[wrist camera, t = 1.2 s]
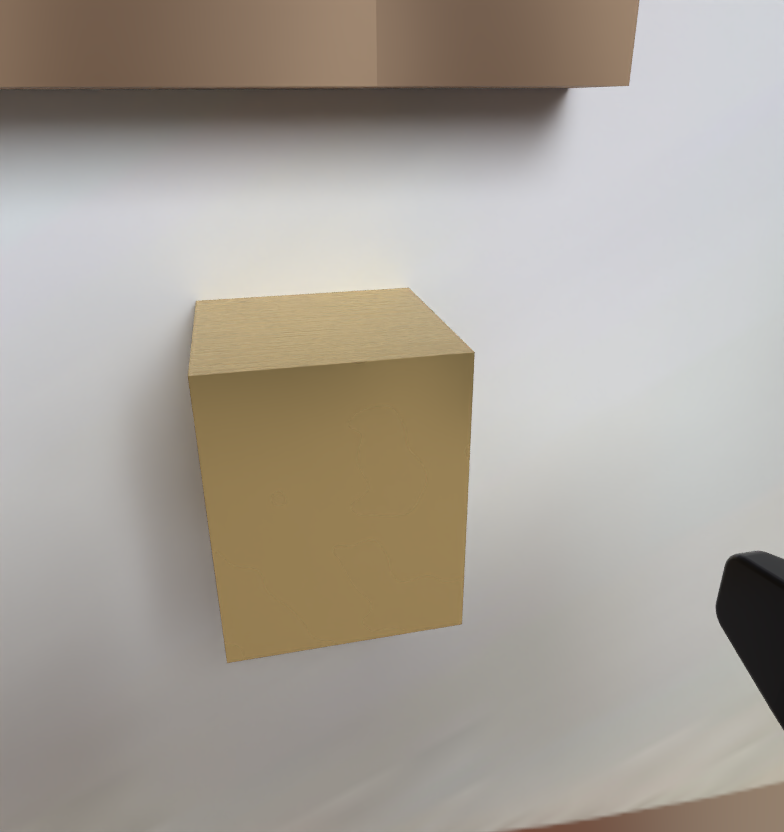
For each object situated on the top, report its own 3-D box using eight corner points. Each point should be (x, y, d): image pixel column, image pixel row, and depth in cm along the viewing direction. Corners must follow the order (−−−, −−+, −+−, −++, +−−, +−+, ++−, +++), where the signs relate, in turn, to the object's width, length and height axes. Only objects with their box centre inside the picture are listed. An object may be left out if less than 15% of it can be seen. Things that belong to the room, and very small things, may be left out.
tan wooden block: (407, 286, 14) (475, 352, 10) (406, 505, 16) (462, 624, 12) (196, 299, 13) (188, 376, 9) (225, 528, 15) (227, 663, 11)
